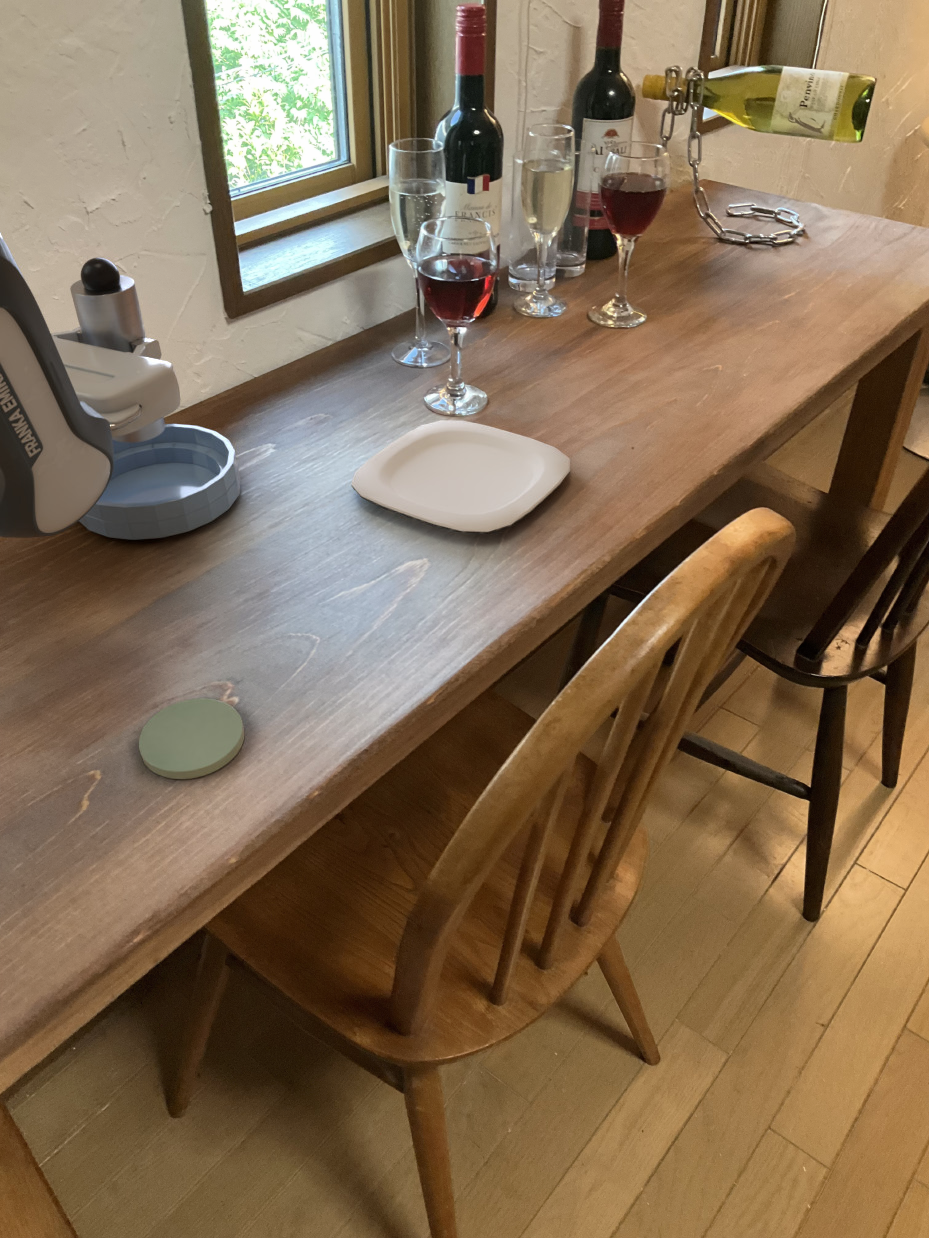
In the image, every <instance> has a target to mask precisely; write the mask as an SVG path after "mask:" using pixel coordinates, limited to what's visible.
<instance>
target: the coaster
mask: <svg viewBox="0 0 929 1238" xmlns="http://www.w3.org/2000/svg"><path fill="white" fill-rule="evenodd" d="M244 741H245V727H244V723H243V719H242V716H241V714H240V713H239V712H238V710H236V708H235V707H233V706H232V705H231V704H228V703H227V702H225V701H222V700H218V699H215V698H207V697H206V698H205V697H204V698H191V699H186V700H185V699H184V700H181V701H178V702H175V703H172V704H171V705H168V706H166V707H164V708H163V709H160V711H157V712H156V714H154V715H153V716H152V717H151V718H150V719H149V720H148V721H147V722H146V724H144V726H143V728H142V729H141V732H140V735H139V740H138V749H139V753H140V756H141V758H142V761H143V763H144V765H145V766H146V767H147V768H148V769H149V770H150V771H152V772H153V773H155V774H157V775H158V776H161V777H163V778H167V779H173V780H190V779H196V778H200V777H205V776H207V775H210V774H212V773H214V772H216V771H218V770H220V769H222V768H224V767H225V766H226V765H227V764H229V763H230V762H231V761H232V760H233V759H234V758H235V757H236V756H237V755H238V754H239V752H240V750H241V748H242V746H243V743H244Z"/></svg>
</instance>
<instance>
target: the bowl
mask: <svg viewBox="0 0 929 1238" xmlns="http://www.w3.org/2000/svg"><path fill="white" fill-rule="evenodd" d="M112 440H113V439H112ZM113 450H114V465H113V473H112V476H111V479H110V481H109V484H108V486H107V488H106V489H105V491H104V493H103V494H102V496H101V497H100V499H99V500H98V501H97V503H96V504H95V505H94V506H93V507H92V509H91V510H90V511H89V512H88V513H87V514H86V515H85V516H84V517H83V518H81V519H80V520H79V521H78V523H80V524H82V525H83V526H84V527H85V528H86V529H87V530H88V531H90V532H93V533H95V534H99V535H101V536H103V537H107V538H111V539H120V540H131V541H137V540H149V539H163V538H167V537H170V536H175V535H179V534H184V533H187V532H190V531H193V530H195V529H198V528H200V527H202V526H204V525H207V524H208V523H211V522H213V521H214V520H216V519H217V518H219V517H220V516H221V515H223V514H224V513H226V511H228V510H229V509H230V508H231V507H232V505H233V504H234V502H235V501H236V500H237V499H238V497H239V495H240V491H241V483H242V480H241V475H240V469H239V464H238V459H237V453H236V450H235V448H234V446H233V444H232V443H231V441H230V440H229V438H227V437H225V436H224V435H222V434H221V433H219V432H218V431H216V430H213V429H209V428H205V427H203V426H199V425H194V424H193V425H191V424H179V423H165V430H164V431H163V432H162V433H161V434H160V435H158V436H157V437H155V438H152V439H150V440H146V441H142V442H136V443H123V442H118V441H115V440H113Z"/></svg>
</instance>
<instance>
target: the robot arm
mask: <svg viewBox="0 0 929 1238" xmlns="http://www.w3.org/2000/svg"><path fill="white" fill-rule="evenodd" d="M160 345H161V344H160V342H159V340H157V339H153V338H149V337H146V338H143V337H141V338H140V339H139V340H136V341H134V342H132V343H131V348H132V351H133V353H131V352H120V351H116V350H111V349H106V348H102V347H97V346H92V345H88V344H84V340H83V336H82V332H81V329H80V326H77V327H75V328H74V329H71V330H64V331H57V332H52V333H51V331H50V329H49V326H48V324H47V322H46V319H45V317H44V314H43V312H42V310H41V308H40V306H39V304H38V302H37V300H36V297H35V295H34V293H33V292H32V289H30V286H29V285H28V283H27V280H26V279H25V277H24V276H23V274H22V272H21V270H20V268H19V266H18V264H17V262H16V260H15V258H14V256H13V254H12V252H11V250H10V247H9V246H8V245H7V243H6V241H5V239H4V238H3V235H2V233H1V232H0V538H9V539H10V538H13V539H32V538H44V537H53V536H55V535H58V534H61V533H63V532H65V531H66V530H68V529H70V528H71V527H73V526H74V525H76V524H77V523H79V520H80V519H81V518H83V517H84V516H85V515H86V514H87V513H88V512H89V511H90V510H91V509H92V507H93V506H94V505H95V504H96V503H97V501H98V500H99V499H100V497H101V496H102V494H103V493H104V491H105V489H106V488H107V486H108V484H109V481H110V479H111V476H112V473H113V465H114V450H113V440H112V437H119V436H123V435H127V434H129V433H132V432H135V431H137V430H139V429H141V428H143V427H145V426H148V425H150V424H152V423H154V422H156V421H157V420H159V419H161V418H163V417H164V418H165V417H167V416H168V415H170V414H172V413H174V412H176V410H178V409H179V407H180V405H181V392H180V391H181V390H180V386H179V380H178V376H177V374H176V370H175V367H174V365H173V364H172V363H171V362H169V361H167V360H162V351H161V346H160Z"/></svg>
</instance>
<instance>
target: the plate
mask: <svg viewBox="0 0 929 1238" xmlns="http://www.w3.org/2000/svg"><path fill="white" fill-rule="evenodd" d="M570 460H571V459H570V457H568V456H567V455H566V454H565V453H563V452H562V451H560V450H559V449H558V448H556V447H555V446H552V445H550V444H547V443H545V442H542V441H539V440H537V439H535V438H531V437H528V436H524V435H521V434H518V433H515V432H511V431H509V430H504V429H501V428H497V427H493V426H489V425H485V424H482V423H477V422H472V421H466V420H454V419H453V420H451V419H450V420H449V419H447V420H446V419H441V420H436V421H432V422H429V423H425V424H421V425H418V426H417V427H415V428H414V429H412V430H410V431H408V432H406V433H405V434H402V436H399V437H398V438H396V439H395V440H394V441H392V442H391V443H389V444H387V445H386V446H385V447H384V448H382V449H381V450H380V451H378V452H377V453H375V454H374V455H373V456H371V457H370V458H369V459H367V460H366V462H364V463H363V465H361V466H360V467H359V468H357V470H355V471H354V475H353V478H352V481H351V483H350V486H351V488H352V489H353V490H354V491H355V492H356V493H357V494H358V495H359V497H360V498H361V499H363V500H366V501H367V502H370V503H371V504H374V505H376V506H378V507H380V508H381V509H384V510H387V511H390V512H392V513H395V514H398V515H399V516H404V517H406V518H408V519H412V520H414V521H417V522H421V523H423V524H426V525H429V526H432V527H435V528H440V529H444V530H447V531H450V532H451V531H452V532H455V533H460V534H477V535H478V534H481V535H482V534H483V535H487V534H491V533H494V532H498V531H501V530H504V529H507V528H510V527H512V526H513V525H515V524H516V523H517V522H520V521H521V520H522V519H524V518H525V517H527V516H528V515H529V514H531V513H532V512H533V511H534V510H535V509H536V508H537V507H538V506H539V505H540V504H542V503H543V502H544V501H545V500H546V499H547V498H548V497H550V495H551V494H553V492H554V491H556V490H557V489H558V488H559V487H560V485H562V483H563V482H564V481H565V479H566V478H567V477H568V475H569V474H570V471H571V461H570Z"/></svg>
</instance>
